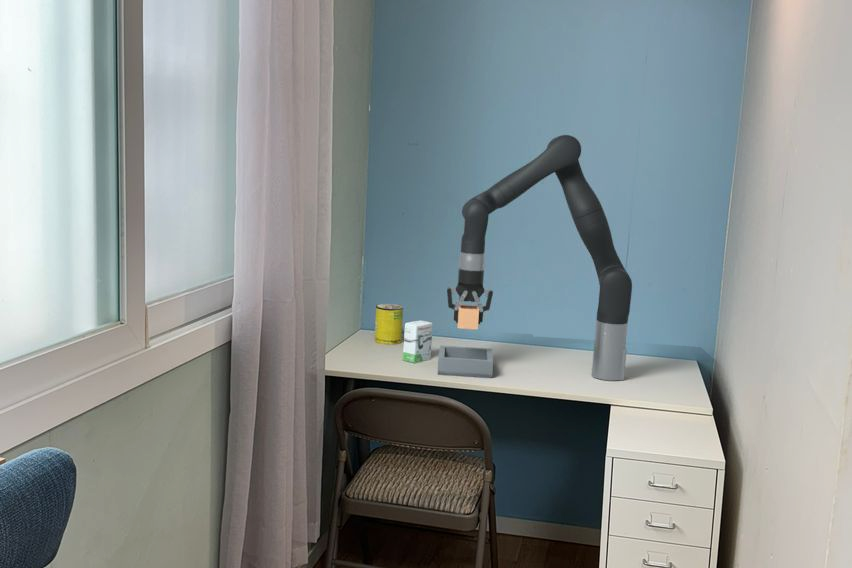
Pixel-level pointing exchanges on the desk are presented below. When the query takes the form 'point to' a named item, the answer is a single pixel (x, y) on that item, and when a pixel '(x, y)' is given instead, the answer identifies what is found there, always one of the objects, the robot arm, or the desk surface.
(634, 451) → the desk surface
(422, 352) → the ink box
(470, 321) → the box
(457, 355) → the big crate
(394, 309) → the yellow tin can
